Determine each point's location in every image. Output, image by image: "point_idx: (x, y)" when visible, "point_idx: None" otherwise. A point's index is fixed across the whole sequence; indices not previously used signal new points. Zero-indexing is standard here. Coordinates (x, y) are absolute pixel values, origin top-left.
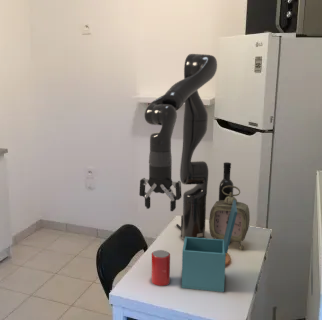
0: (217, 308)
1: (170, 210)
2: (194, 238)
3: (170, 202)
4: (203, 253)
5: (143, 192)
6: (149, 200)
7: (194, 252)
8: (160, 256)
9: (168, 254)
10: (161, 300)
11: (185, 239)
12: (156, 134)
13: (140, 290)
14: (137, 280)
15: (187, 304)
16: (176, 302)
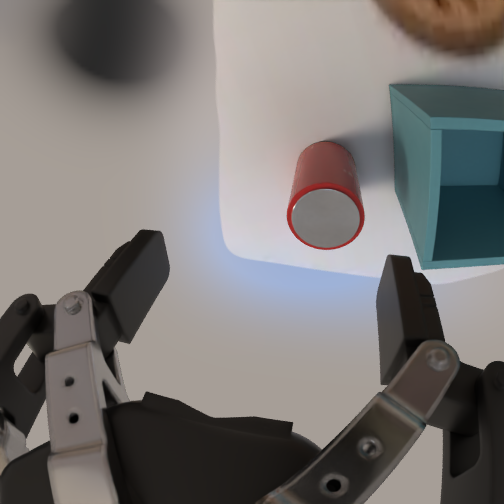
0: None
1: (377, 306)
2: (476, 129)
3: (380, 372)
4: (493, 263)
5: (44, 351)
6: (131, 297)
7: (464, 265)
8: (329, 243)
9: (358, 219)
10: (348, 257)
11: (435, 154)
12: None
13: (283, 229)
14: (256, 184)
15: (411, 258)
16: (385, 256)
